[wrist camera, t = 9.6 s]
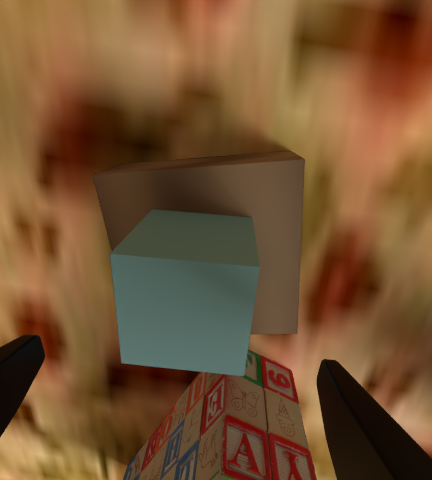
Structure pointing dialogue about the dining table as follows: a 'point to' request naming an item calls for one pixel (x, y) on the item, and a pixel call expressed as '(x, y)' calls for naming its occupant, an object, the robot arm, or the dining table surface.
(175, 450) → the stack of blocks
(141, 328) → the teal cube
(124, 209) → the walnut block
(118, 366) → the dining table surface
